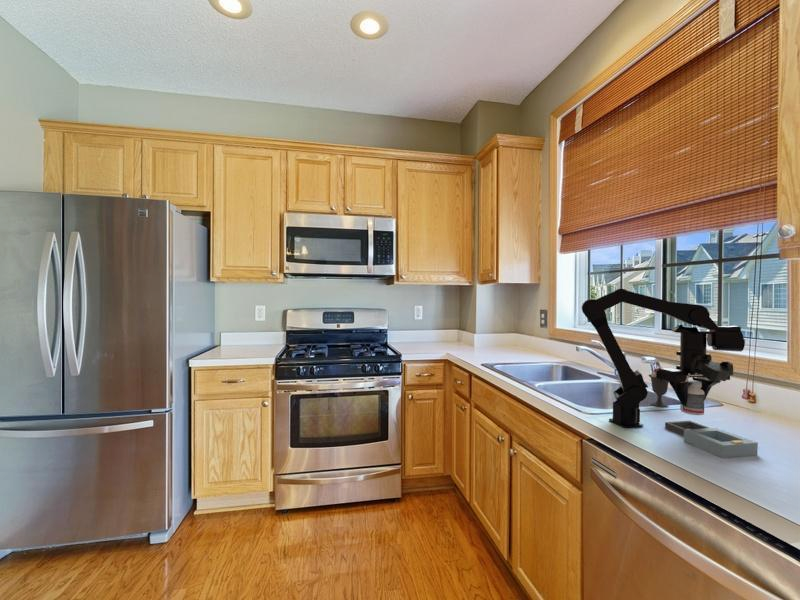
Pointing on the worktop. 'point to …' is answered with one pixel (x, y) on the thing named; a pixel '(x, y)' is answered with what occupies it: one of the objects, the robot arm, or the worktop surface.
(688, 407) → the pill bottle
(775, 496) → the worktop surface
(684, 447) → the worktop surface
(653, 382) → the sundae
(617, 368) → the robot arm
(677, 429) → the dark brown square tray
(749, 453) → the tray
